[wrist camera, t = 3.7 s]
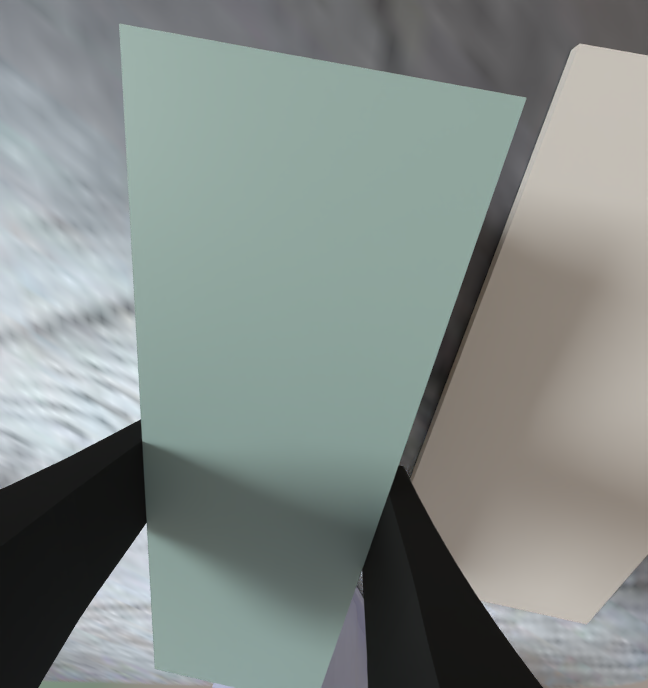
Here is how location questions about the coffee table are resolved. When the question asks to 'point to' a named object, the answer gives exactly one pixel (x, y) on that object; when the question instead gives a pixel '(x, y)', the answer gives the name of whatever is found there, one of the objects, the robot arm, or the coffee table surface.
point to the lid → (285, 327)
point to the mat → (556, 366)
